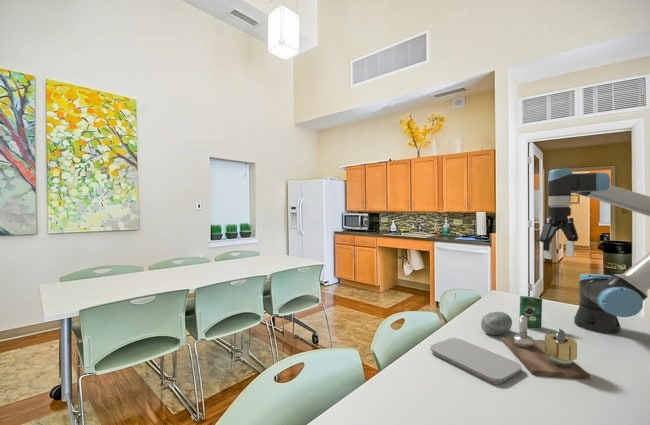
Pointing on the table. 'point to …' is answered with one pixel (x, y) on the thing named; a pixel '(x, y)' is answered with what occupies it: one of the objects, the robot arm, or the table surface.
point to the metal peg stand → (555, 361)
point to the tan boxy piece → (561, 347)
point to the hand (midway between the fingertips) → (559, 257)
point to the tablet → (476, 360)
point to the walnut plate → (543, 361)
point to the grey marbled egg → (496, 323)
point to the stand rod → (523, 335)
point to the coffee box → (531, 310)
